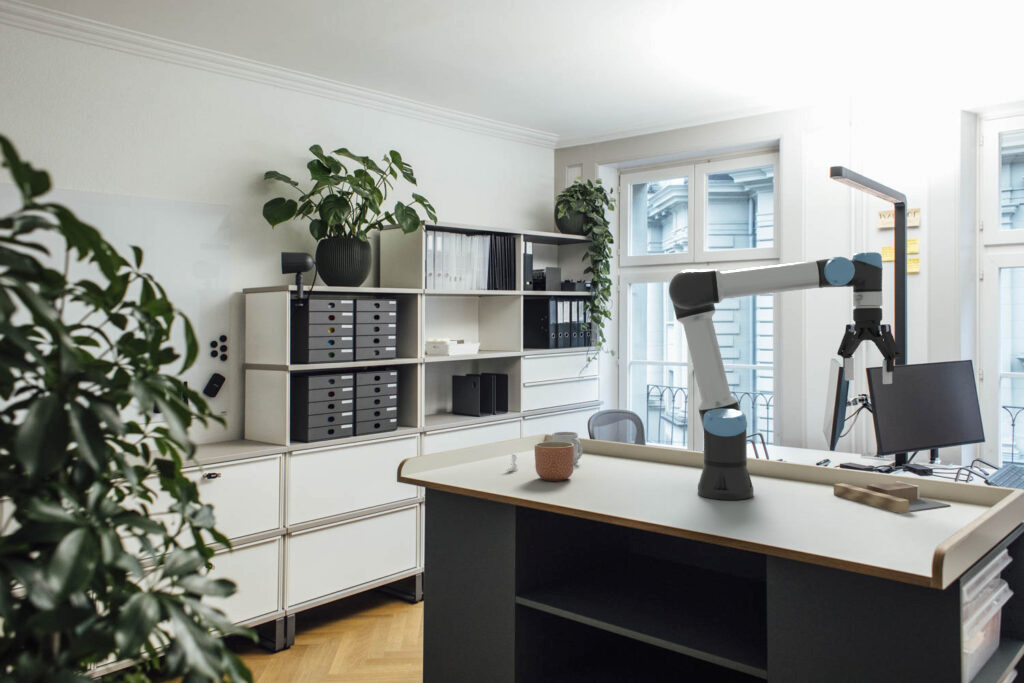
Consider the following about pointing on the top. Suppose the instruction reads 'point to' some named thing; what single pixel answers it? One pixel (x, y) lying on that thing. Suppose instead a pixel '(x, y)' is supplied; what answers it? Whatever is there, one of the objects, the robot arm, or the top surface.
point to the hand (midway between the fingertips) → (867, 382)
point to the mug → (571, 438)
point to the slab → (897, 490)
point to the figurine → (513, 463)
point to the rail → (872, 498)
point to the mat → (924, 504)
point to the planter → (554, 460)
